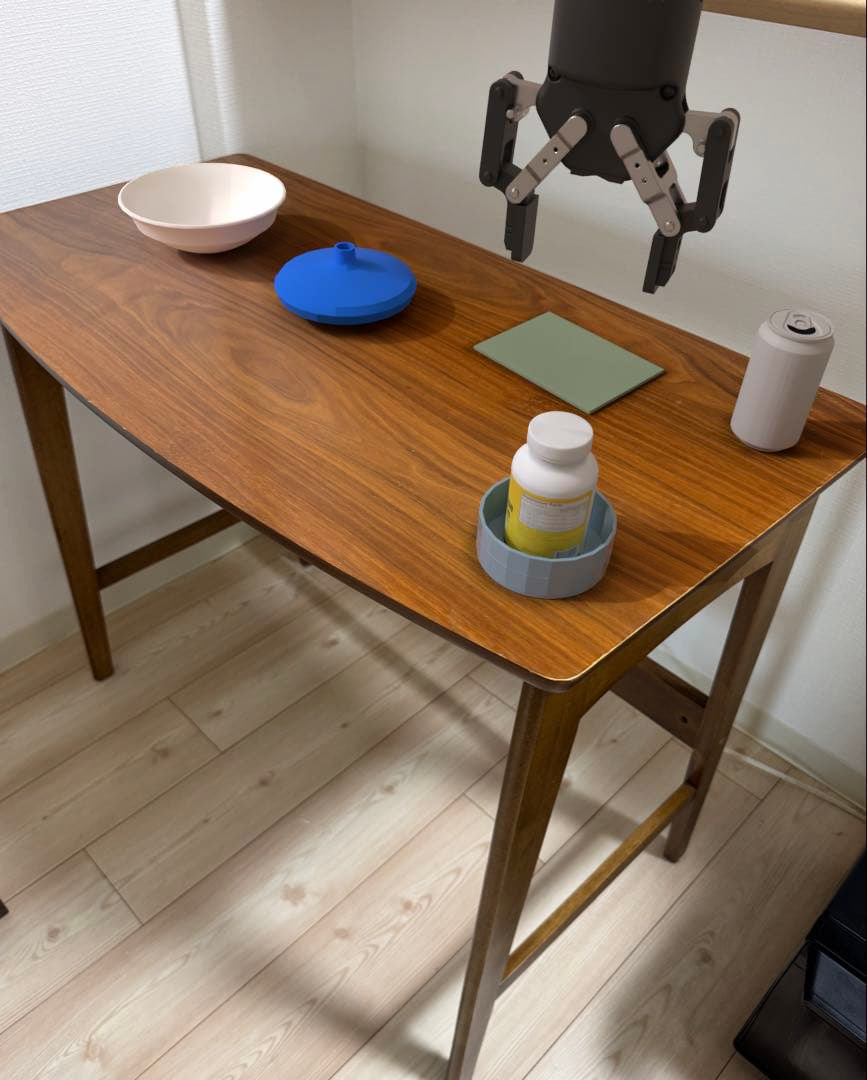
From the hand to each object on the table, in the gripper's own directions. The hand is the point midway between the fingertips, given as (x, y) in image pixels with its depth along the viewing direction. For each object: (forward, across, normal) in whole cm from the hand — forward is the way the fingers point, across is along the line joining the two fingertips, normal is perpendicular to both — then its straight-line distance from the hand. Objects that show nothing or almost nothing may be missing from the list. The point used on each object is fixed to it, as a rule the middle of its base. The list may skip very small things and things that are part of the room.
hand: (585, 272), depth 56 cm
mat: (+24, -8, +29) cm, 39 cm away
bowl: (+24, -57, +34) cm, 71 cm away
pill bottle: (+24, 0, 0) cm, 24 cm away
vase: (+24, -34, +28) cm, 50 cm away
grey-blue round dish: (+24, 0, 0) cm, 24 cm away
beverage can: (+24, +13, +25) cm, 37 cm away
